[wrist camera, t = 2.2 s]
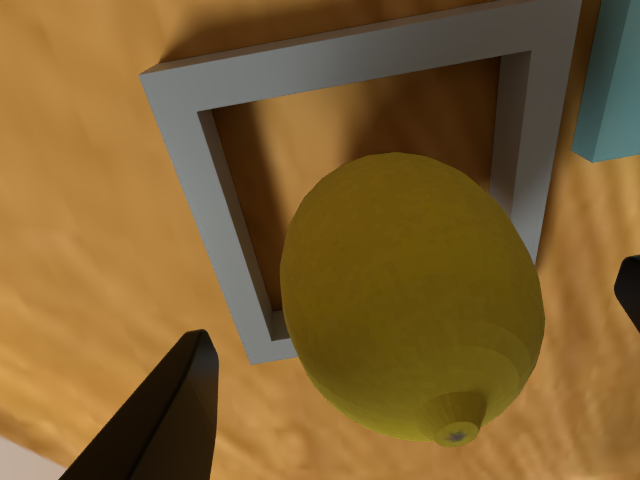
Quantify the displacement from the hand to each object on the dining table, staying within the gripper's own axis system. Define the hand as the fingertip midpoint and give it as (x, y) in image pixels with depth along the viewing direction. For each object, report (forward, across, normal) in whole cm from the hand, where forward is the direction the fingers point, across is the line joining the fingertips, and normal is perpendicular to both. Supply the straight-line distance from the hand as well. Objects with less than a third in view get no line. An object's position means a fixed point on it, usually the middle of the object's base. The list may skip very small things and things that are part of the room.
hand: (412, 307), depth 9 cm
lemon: (+5, 0, 0) cm, 5 cm away
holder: (+5, 0, 0) cm, 5 cm away
